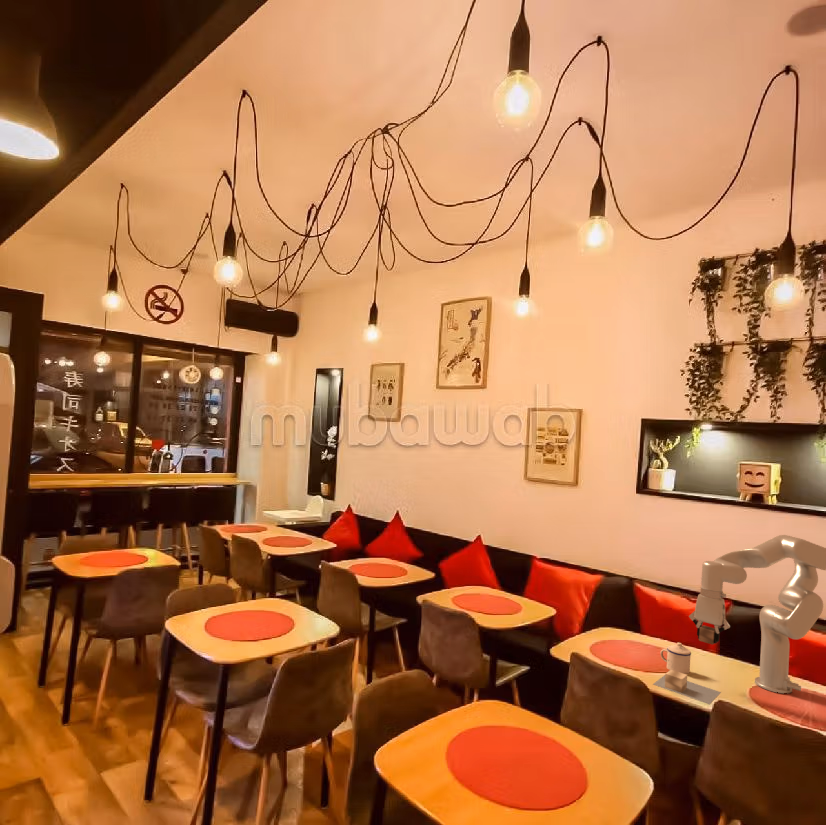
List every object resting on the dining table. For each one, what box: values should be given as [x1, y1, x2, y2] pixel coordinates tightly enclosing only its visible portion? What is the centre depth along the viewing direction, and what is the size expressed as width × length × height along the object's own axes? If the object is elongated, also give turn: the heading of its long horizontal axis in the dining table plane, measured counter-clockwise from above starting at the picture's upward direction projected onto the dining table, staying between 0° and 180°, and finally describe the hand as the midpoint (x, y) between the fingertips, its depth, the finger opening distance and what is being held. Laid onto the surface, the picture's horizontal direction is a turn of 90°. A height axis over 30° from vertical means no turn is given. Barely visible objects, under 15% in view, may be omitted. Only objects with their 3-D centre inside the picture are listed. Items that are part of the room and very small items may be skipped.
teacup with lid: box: [659, 642, 692, 675], centre depth 233 cm, size 12×9×12 cm
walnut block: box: [698, 625, 715, 645], centre depth 220 cm, size 5×5×5 cm
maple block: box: [664, 670, 688, 693], centre depth 214 cm, size 6×6×5 cm
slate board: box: [652, 674, 722, 705], centre depth 214 cm, size 20×15×1 cm
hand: (707, 639), depth 220 cm, fingers closed on walnut block, 4 cm apart
